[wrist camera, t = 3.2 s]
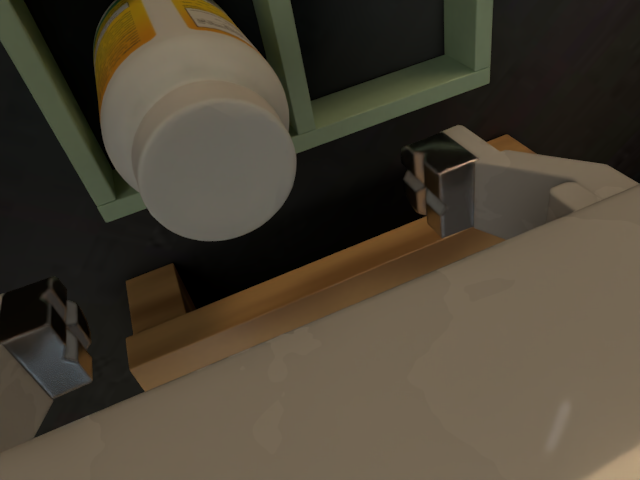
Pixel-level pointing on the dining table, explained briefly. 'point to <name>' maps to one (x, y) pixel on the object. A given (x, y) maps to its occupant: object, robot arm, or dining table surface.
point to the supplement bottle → (192, 117)
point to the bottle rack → (285, 58)
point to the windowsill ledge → (280, 296)
